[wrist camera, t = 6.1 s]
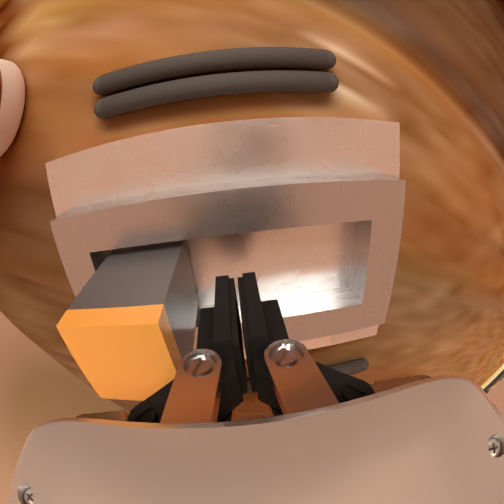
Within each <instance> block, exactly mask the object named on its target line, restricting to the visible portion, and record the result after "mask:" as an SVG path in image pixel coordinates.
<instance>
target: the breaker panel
mask: <svg viewBox="0 0 504 504" xmlns="http://www.w3.org/2000/svg"><path fill="white" fill-rule="evenodd" d="M45 165H46V171H47V177H48V182H49V187H50V192H51V197H52V201H53V206H54V210H55V214H56V217H55V218H54V219H52V220H51V221H50V225H51V229H52V232H53V235H54V239H55V242H56V245H57V249H58V252H59V255H60V258H61V261H62V264H63V266H64V269H65V272H66V275H67V277H68V280H69V283H70V285H71V288H72V290H73V293H74V295H75V297H77V295H78V294H79V293H80V291H81V290H82V288H83V287H84V286H85V284H86V283H87V282H88V281H89V279H90V278H91V277H92V275H93V274H94V273H95V271H96V270H97V269H98V268H99V266H100V265H101V264H102V263H103V261H104V260H105V259H106V258H107V256H108V255H109V254H110V253H111V252H112V250H113V249H119V248H126V247H133V246H141V245H148V244H156V243H164V242H172V241H180V240H186V242H187V248H188V253H189V258H190V263H191V268H192V273H193V278H194V283H195V287H196V292H197V297H198V309H197V318H196V327H195V336H194V346H193V351H194V350H196V347H197V336H198V326H199V316H200V309H201V308H209V307H214V301H215V279H216V276H224V275H229V278H234V282H235V288H236V295H237V302H238V309H239V316H240V322H241V329H242V320H241V310H240V299H239V288H238V277H243V276H242V273H249V272H255V275H256V280H257V285H258V289H259V294H260V299H261V301H267V300H275V299H277V300H278V303H279V306H280V310H281V313H282V317H283V320H284V323H285V327H286V330H287V333H288V337H289V339H292V340H296V341H299V342H300V343H302V344H304V346H305V347H306V348H307V349H308V350H310V349H315V348H320V347H325V346H330V345H335V344H340V343H344V342H349V341H353V340H357V339H361V338H366V337H370V336H373V335H376V334H377V330H378V326H379V325H380V324H384V323H385V320H386V315H387V311H388V307H389V302H390V298H391V293H392V288H393V283H394V278H395V272H396V267H397V261H398V254H399V247H400V240H401V232H402V224H403V214H404V202H405V188H406V180H404V179H402V178H399V171H400V129H399V123H398V122H389V121H379V120H368V119H353V118H331V117H286V118H263V119H248V120H236V121H226V122H217V123H209V124H201V125H194V126H187V127H181V128H175V129H169V130H164V131H159V132H154V133H149V134H144V135H139V136H135V137H131V138H126V139H122V140H118V141H114V142H111V143H107V144H103V145H100V146H96V147H93V148H89V149H86V150H83V151H79V152H76V153H73V154H70V155H67V156H64V157H61V158H58V159H56V160H53V161H50V162H47V163H45ZM242 338H243V330H242ZM243 348H244V358H245V359H246V352H245V346H244V339H243Z"/></svg>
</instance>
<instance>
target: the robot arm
mask: <svg viewBox="0 0 504 504" xmlns="http://www.w3.org/2000/svg"><path fill="white" fill-rule="evenodd" d="M242 276H243V277H238V288H239V299H240V310H241V320H242V329H241V322H240V316H239V309H238V302H237V295H236V288H235V282H234V278H229V275H224V276H216V279H215V301H214V307H209V308H201V309H200V316H199V326H198V336H197V347H196V350H194V351H191V352H189V353H187V354H186V355H185V356H184V357H183V358H182V359H181V361H180V363H179V366H178V369H177V371H176V374H175V377H174V379H173V380H172V381H171V382H169V383H168V384H166V385H165V386H164V387H162V388H161V389H160V390H158V391H157V392H155V393H154V394H153V395H151V396H150V397H148V398H147V399H145V400H144V401H143V402H141V403H140V404H138V405H137V406H135V407H134V408H133V409H132V410H131V412H126V411H125V410H120V411H112V412H103V413H92V414H82V415H79V416H77V417H76V418H60V419H55V420H50V421H47V422H44V423H41V424H39V425H38V426H36V427H35V428H34V429H33V430H32V432H31V433H30V435H29V436H28V438H27V440H26V442H25V445H24V446H23V449H22V451H21V454H20V457H19V459H18V463H17V466H16V470H15V473H14V476H13V480H12V485H11V490H10V495H9V501H8V504H504V418H503V416H502V414H501V413H500V412H499V410H498V408H497V407H496V405H495V404H494V403H493V401H492V400H491V399H490V397H489V396H488V395H487V394H486V393H485V392H484V390H483V389H482V388H481V387H480V386H479V385H478V384H476V383H475V382H474V381H472V380H471V379H468V378H466V377H461V376H438V377H432V378H431V377H429V376H426V375H419V376H412V377H406V378H398V379H390V380H381V381H375V383H374V384H368V383H367V382H365V381H363V380H360V379H358V378H355V377H352V376H350V375H347V374H345V373H342V372H340V371H337V370H335V369H332V368H330V367H327V366H325V365H322V364H320V363H318V362H315V361H314V359H313V358H312V356H311V354H310V353H309V351H308V349H307V348H306V347H305V346H304V344H302V343H300V342H299V341H296V340H292V339H289V337H288V333H287V330H286V327H285V323H284V320H283V317H282V313H281V310H280V306H279V303H278V300H277V299H275V300H267V301H261V299H260V294H259V289H258V285H257V280H256V275H255V272H249V273H242ZM242 330H243V338H242ZM243 339H244V346H245V352H246V359H247V365H248V371H249V377H250V383H251V389H252V392H258V398H259V400H260V401H262V402H264V403H265V404H267V405H269V410H270V413H271V415H272V417H265V418H257V419H249V420H239V421H234V418H235V408H236V407H237V406H238V405H239V404H240V403H241V402H242V401H243V394H244V393H248V387H247V378H246V368H245V358H244V348H243Z"/></svg>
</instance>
